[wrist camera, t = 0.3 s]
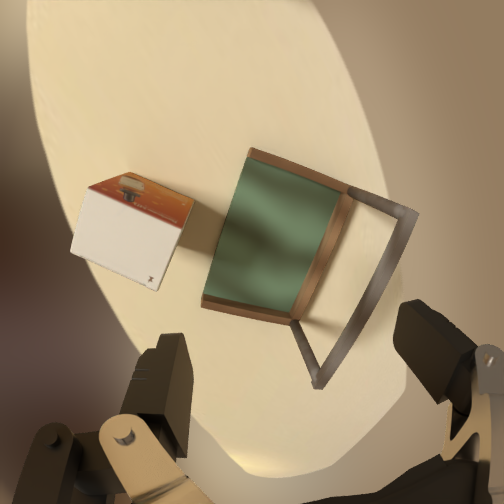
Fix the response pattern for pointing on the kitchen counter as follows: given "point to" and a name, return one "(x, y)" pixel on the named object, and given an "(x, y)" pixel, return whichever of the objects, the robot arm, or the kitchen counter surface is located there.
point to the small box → (131, 227)
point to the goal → (293, 250)
